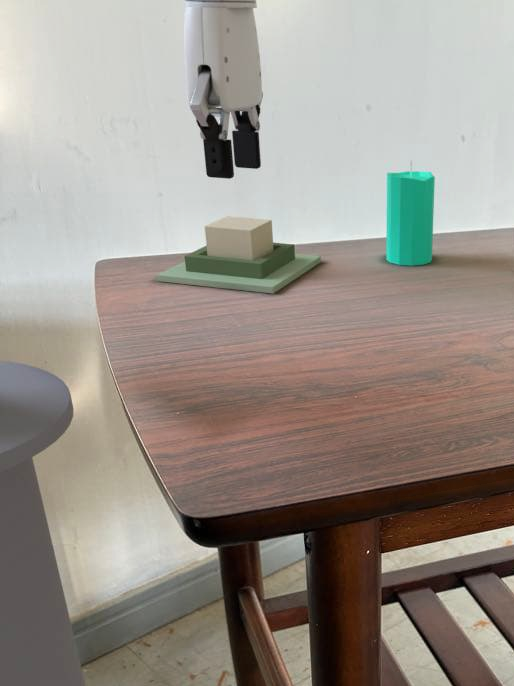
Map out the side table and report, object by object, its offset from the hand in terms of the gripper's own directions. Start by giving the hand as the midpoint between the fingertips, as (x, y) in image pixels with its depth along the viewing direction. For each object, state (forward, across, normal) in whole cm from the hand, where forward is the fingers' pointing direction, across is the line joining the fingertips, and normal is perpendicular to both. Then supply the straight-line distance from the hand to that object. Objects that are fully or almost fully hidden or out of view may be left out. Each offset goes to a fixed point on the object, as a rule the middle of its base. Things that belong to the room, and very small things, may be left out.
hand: (234, 171), depth 102 cm
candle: (+12, -13, +18) cm, 25 cm away
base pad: (+12, 0, 0) cm, 12 cm away
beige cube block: (+11, 0, 0) cm, 11 cm away
